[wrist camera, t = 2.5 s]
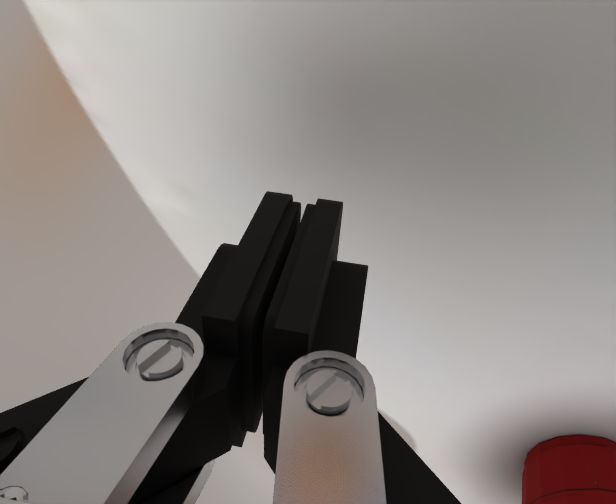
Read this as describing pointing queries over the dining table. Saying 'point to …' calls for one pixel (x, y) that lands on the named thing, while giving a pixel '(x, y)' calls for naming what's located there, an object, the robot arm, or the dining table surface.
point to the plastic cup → (571, 472)
